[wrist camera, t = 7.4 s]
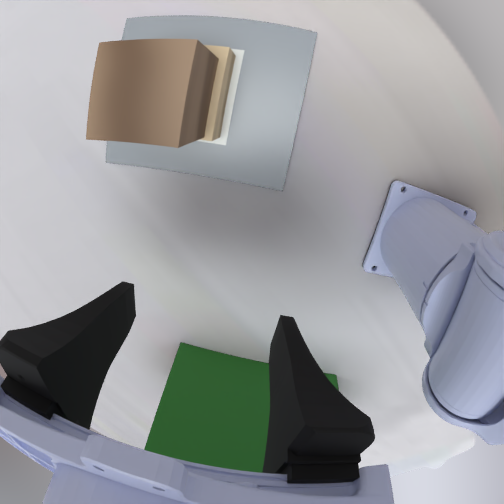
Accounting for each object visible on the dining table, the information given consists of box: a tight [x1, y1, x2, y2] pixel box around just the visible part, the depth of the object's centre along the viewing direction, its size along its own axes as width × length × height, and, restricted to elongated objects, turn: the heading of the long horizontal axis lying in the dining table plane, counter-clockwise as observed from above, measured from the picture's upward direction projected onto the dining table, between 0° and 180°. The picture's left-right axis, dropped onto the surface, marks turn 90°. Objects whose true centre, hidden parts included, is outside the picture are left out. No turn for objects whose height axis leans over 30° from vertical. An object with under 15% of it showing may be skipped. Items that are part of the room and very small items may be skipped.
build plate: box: [106, 16, 317, 191], centre depth 18 cm, size 14×12×1 cm
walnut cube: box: [86, 39, 219, 148], centre depth 13 cm, size 5×5×5 cm
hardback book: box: [144, 342, 339, 473], centre depth 20 cm, size 18×7×24 cm, turn 76°
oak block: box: [199, 45, 236, 141], centre depth 16 cm, size 6×6×3 cm
